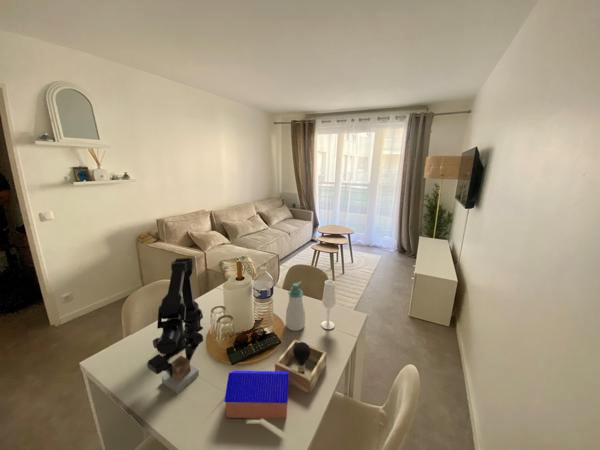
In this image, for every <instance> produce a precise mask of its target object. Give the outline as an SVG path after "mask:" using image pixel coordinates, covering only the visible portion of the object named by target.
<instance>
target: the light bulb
mask: <svg viewBox="0 0 600 450" xmlns="http://www.w3.org/2000/svg"><path fill="white" fill-rule="evenodd" d="M308 345H309V344H307V343H306V342H304V341H300V342H299V343H297V344H296V345H295V346H294V349H293V354H294V356H293V357H294V358H295V360H296V362H297V370H298V371H297V372H299V373H303V372H304V371H305V370H306V362H307V360H309V359H308V358H309V356H310V348H309V346H308Z"/></svg>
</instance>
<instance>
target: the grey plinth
mask: <svg viewBox="0 0 600 450" xmlns="http://www.w3.org/2000/svg"><path fill="white" fill-rule="evenodd" d="M190 369H191V371H190V372H189V373H188V374H187V375H186V376H184V377H183V378H182V379H181V380H180V381H178V380H176V379H175V378H173V377H170V376H169V375H168V373H167V372H166V373H165V374H164V375H162V376H161V381H162V382H161V383H162V384H164V386H166V387H167V388H169V389H170V390H172V391H173V392H174V393H176V395H177V394H178V395H179V393H180V392H182V390H184V389H185V388H186V387H187V386H188V385H190V383H192V382H193V381H194V380H195V379H197V378H198V377H199V376H200V373H199V369H197V368H196V367H194V366H193V365H191V364H190Z"/></svg>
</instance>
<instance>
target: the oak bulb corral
mask: <svg viewBox="0 0 600 450" xmlns="http://www.w3.org/2000/svg"><path fill="white" fill-rule="evenodd" d="M299 342H301V341H300V340H297V339H294V340H293V341H292V342H291V343H290V344H289V346H288V347H287V348H286V349H285V351H284V352H283V353H282V354H281V356H280V357H279V358H277V360H276V362H275V363H274V371H285V372H289V374H288V385H291V386H294V387H295V388H297V389H299V390H301V391H303V392H305V393H307V394H309V395H311V393H312V391H313V389H314V388H315V385H316V384H317V382H318V380H319V378H320V377H321V375H322V373H323V371H324V369H325V367H326V366H327V357H328V355H327V353H328V352H326V351H324V350H323V349H319V348H317V347H315V346H311V345H309V344H307V345H308V346H309V348H310V356H309V358H308V359H307V360H309V361H312V362H314V363H316V365H315V366H314V368H313V370H312V371H311V373H310V375H309V376H307V375H306V374H303V372H299V371H297V370H296V369H293V368H292V367H288V366H287V365H288V364H289V363H290V361H291V360H292V359H293V357H294V354H293V349H294V346H295V345H296V344H297V343H299Z"/></svg>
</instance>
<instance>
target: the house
mask: <svg viewBox="0 0 600 450" xmlns="http://www.w3.org/2000/svg"><path fill="white" fill-rule="evenodd" d="M288 374H289V372H285V371H275V370H274V371H271V370H270V371H268V370H267V371H266V370H233V371H231V372H228V377H227V383H226V390H225V394H224V395H225V396H224V401H223V402H224V403H225V410H226V411H225V413H226V418H237V419H242V418H243V419H263V418H264V419H265V418H266V419H267V418H269V419H270V418H271V419H286V418H287V415H288V399H289V383H288Z"/></svg>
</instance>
